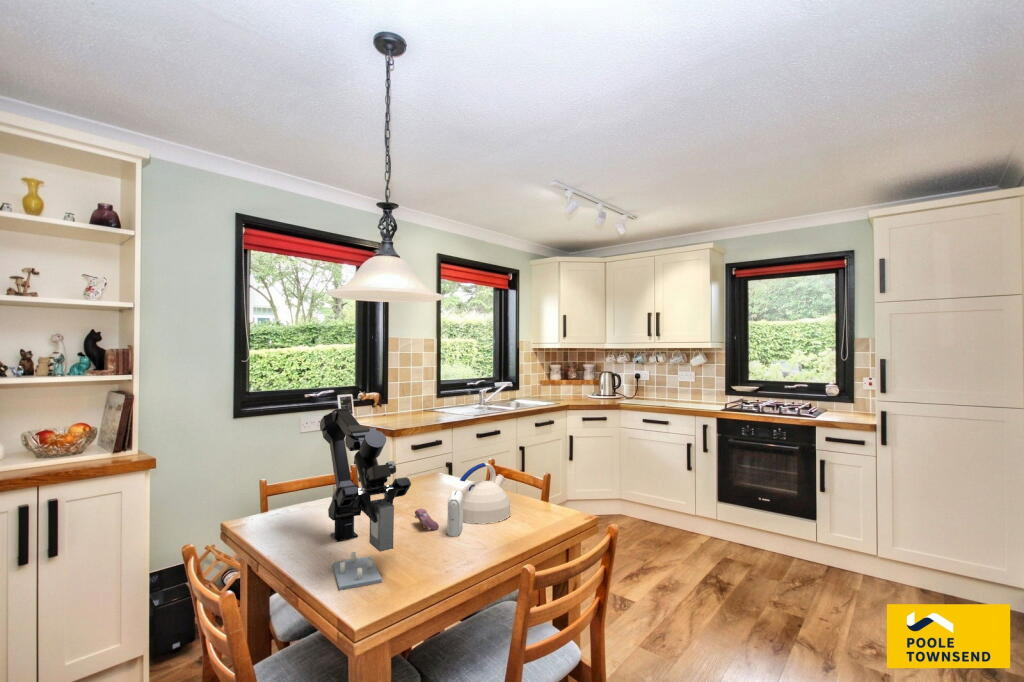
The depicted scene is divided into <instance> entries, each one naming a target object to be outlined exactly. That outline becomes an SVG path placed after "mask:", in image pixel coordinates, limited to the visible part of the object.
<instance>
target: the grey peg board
mask: <svg viewBox="0 0 1024 682" xmlns="http://www.w3.org/2000/svg"><path fill="white" fill-rule="evenodd" d="M350 558H351V559H346V560H339V561H334V562H332V568H333V572H334V577H335V580H336V584H337V587H338V591H342V590H343V591H344V590H347V589H349V590H350V589H354V588H359V587H364V586H369V585H374V584H380V583H382V582H383V579H382V576H381V574H380V571H379V570H378V567H377V566H376V563H375V560H374V558H373V556H372V555H369V556H364V557H357V552H356V551H352V552H351V553H350Z"/></svg>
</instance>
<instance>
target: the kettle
mask: <svg viewBox="0 0 1024 682" xmlns="http://www.w3.org/2000/svg"><path fill="white" fill-rule="evenodd" d="M484 467H485V468H488V470H489V480H483V479H481V480H480V479H479V480H475V481H473V482H470V483H468V484H467V485H466V486H464V487H463V488H462V490H460V491H461V493H462V494H463V523H465V522H466V524H471V523H479V524H478V525H483V524H482V523H491V522H497V521H500V520H503V519H505V518H507V517H508V516H509V515H510V513H511V514H512V512H511V502H510V499H509V497H508V493H506V491H505V490H504V489H503V488H502V485H503V484H504V482H505V481H506V478H505V477H504V475H502V474H496V469H495V468H494V466H493V465H492V464H490V463H485V462H482V463H479V464H477V465H474V466H472V467H471V468H469V469H468V470H467V471H466V472H464V473H463V475H462V476H461V477H460V479H459V481H460V482H464V483H465V482H466V481H467V479H468V478H469V477H471V475H472V474H473V473H474V472H476V471H478V470H479V469H482V468H484ZM510 516H511V515H510Z"/></svg>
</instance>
